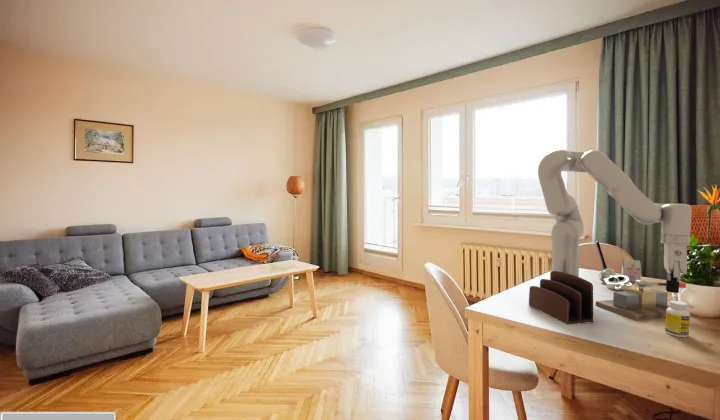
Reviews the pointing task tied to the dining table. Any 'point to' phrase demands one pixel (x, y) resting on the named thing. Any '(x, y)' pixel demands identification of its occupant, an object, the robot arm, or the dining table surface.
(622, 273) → the printed carton box
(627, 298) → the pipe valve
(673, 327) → the supplement bottle
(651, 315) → the board
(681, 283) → the valve lever
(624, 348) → the dining table surface
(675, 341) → the dining table surface
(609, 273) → the butterfly valve
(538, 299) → the letter holder
